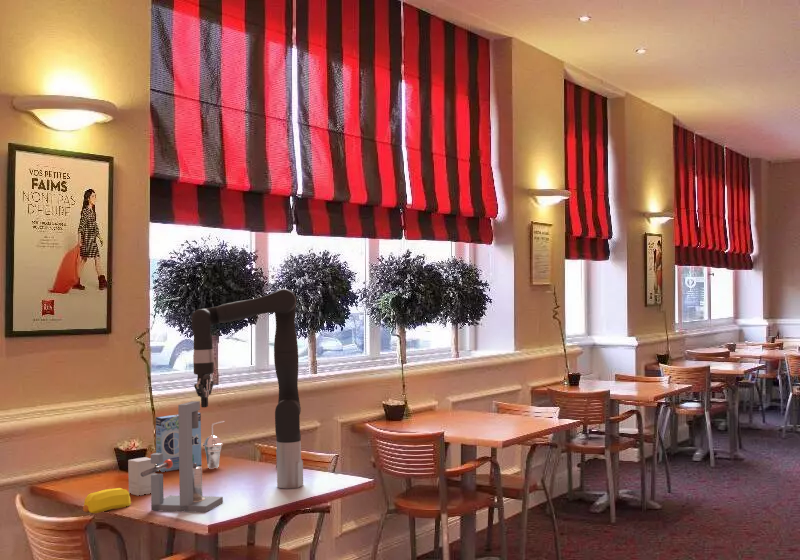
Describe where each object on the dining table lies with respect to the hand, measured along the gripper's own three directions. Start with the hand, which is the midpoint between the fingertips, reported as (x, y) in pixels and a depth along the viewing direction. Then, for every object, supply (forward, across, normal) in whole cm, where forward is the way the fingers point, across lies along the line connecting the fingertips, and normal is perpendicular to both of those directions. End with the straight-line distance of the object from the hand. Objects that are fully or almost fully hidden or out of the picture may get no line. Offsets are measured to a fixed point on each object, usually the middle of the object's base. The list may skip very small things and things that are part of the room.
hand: (204, 407), depth 326 cm
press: (+31, -26, -5) cm, 41 cm away
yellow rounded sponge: (+31, -33, +22) cm, 50 cm away
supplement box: (+31, -8, +22) cm, 39 cm away
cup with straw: (+31, +41, +15) cm, 53 cm away
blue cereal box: (+31, +39, +30) cm, 58 cm away
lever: (+19, -32, +4) cm, 37 cm away
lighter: (+32, +46, -15) cm, 58 cm away
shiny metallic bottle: (+29, -25, -7) cm, 39 cm away
